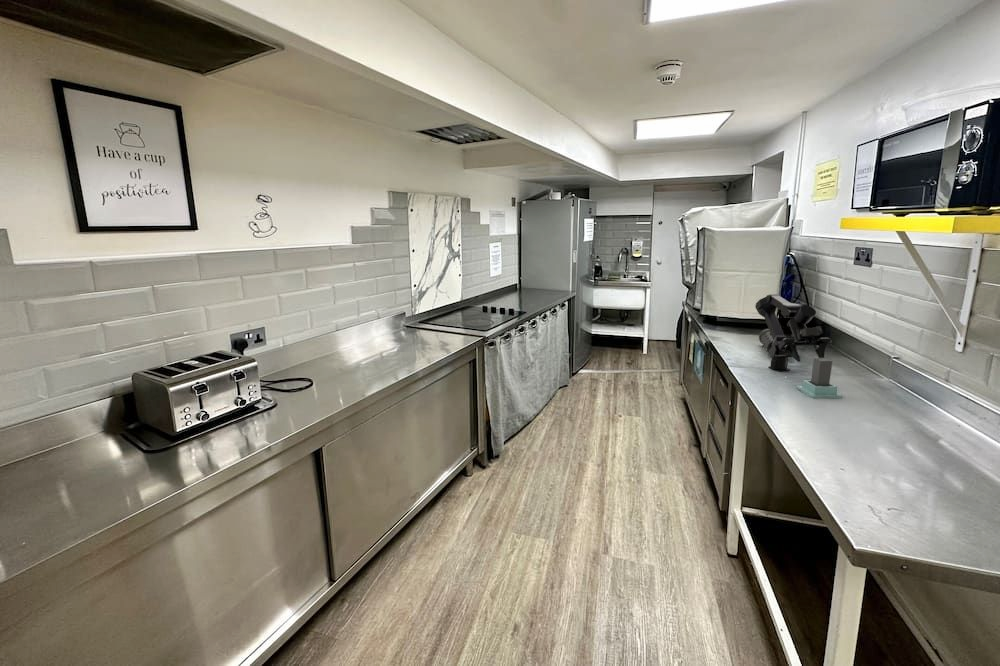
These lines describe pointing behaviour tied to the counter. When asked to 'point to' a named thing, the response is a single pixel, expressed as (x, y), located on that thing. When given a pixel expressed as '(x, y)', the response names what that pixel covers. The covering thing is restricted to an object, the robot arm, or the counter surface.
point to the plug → (821, 372)
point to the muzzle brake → (766, 339)
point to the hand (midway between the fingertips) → (811, 361)
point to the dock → (819, 390)
